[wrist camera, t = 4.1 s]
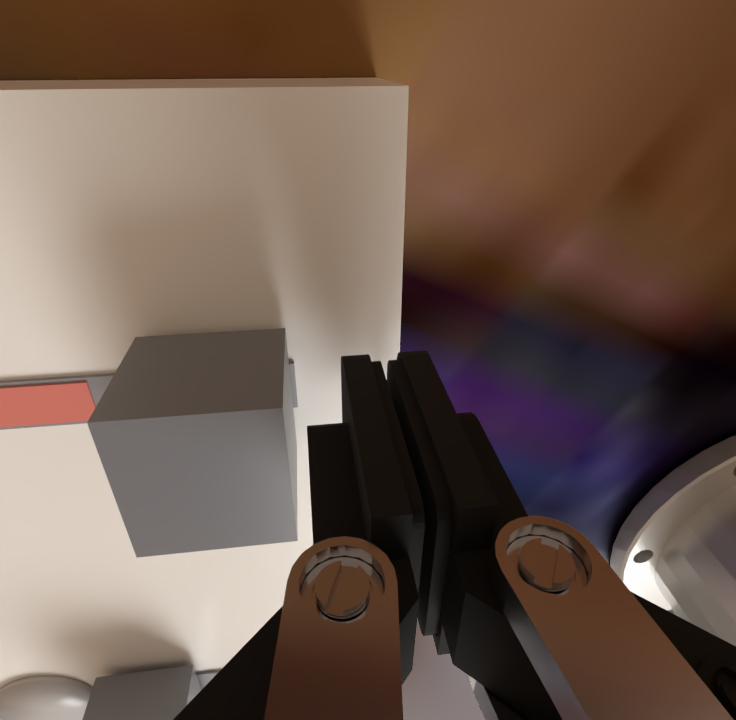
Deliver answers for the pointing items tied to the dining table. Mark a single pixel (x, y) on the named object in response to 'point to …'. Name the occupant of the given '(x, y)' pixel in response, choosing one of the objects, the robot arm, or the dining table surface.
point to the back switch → (142, 695)
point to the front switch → (201, 441)
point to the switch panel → (170, 317)
